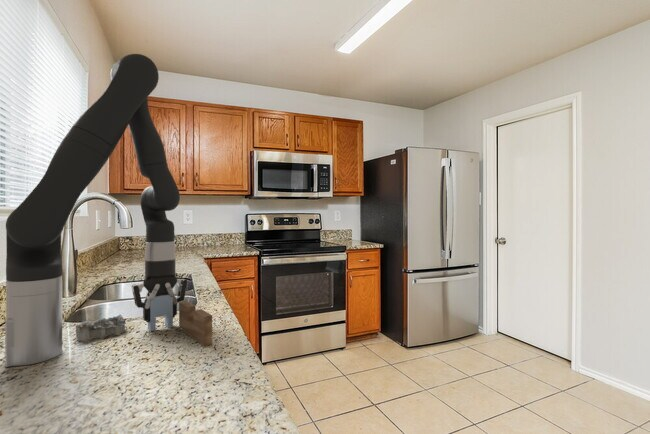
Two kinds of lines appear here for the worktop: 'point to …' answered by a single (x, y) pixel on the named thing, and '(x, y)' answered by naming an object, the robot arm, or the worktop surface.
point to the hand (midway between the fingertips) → (160, 319)
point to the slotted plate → (195, 323)
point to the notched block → (161, 311)
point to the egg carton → (100, 328)
